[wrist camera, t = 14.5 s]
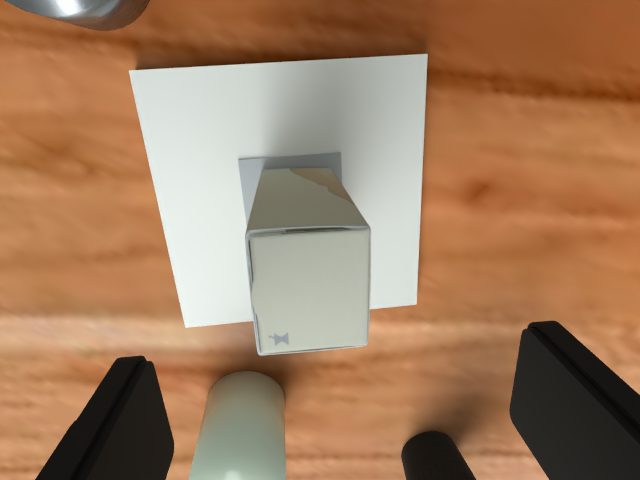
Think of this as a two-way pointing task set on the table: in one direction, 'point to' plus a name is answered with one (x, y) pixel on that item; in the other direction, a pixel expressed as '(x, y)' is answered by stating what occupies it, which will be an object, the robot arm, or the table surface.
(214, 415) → the pale green capsule
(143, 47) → the table surface
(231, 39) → the table surface
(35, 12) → the dark tin
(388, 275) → the white square plate
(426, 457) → the drinking cup
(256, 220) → the box
